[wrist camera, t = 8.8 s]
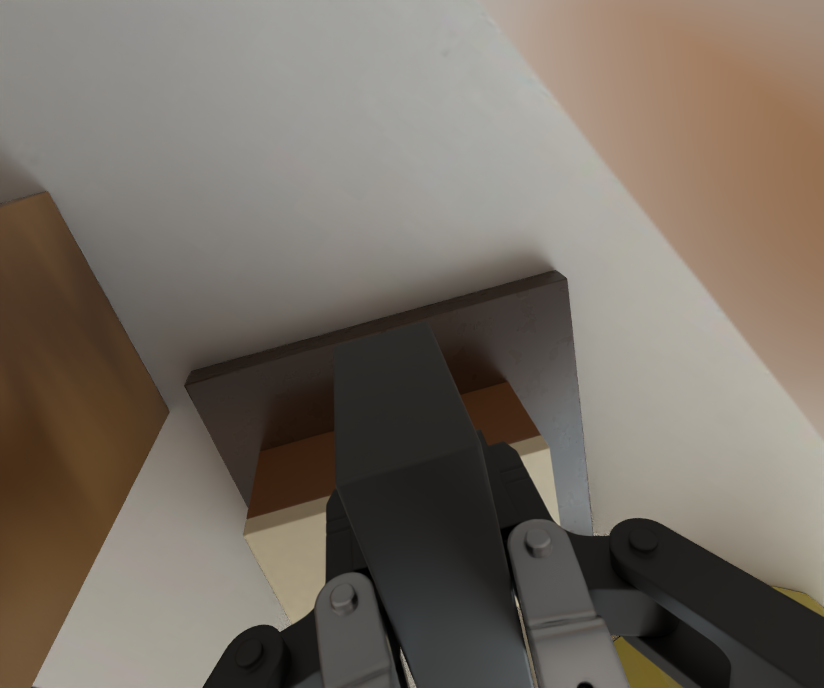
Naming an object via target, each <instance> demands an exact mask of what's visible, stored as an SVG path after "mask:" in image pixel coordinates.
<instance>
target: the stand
mask: <svg viewBox="0 0 824 688" xmlns="http://www.w3.org/2000/svg"><path fill="white" fill-rule="evenodd" d="M168 414H169V410H168V408H167V406H166V404H165V403H164V401H163V399H162V397H161V395H160V394H159V392H158V390H157V388H156V386H155V384H154V383H153V381H152V379H151V377H150V375H149V374H148V372H147V370H146V368H145V366H144V365H143V363H142V361H141V359H140V357H139V355H138V354H137V352H136V350H135V348H134V346H133V345H132V343H131V341H130V339H129V337H128V336H127V334H126V332H125V330H124V328H123V326H122V325H121V323H120V321H119V319H118V317H117V316H116V314H115V312H114V310H113V308H112V307H111V305H110V303H109V301H108V299H107V298H106V296H105V294H104V292H103V290H102V288H101V287H100V285H99V283H98V281H97V279H96V278H95V276H94V274H93V272H92V270H91V269H90V267H89V265H88V263H87V261H86V259H85V258H84V256H83V254H82V252H81V250H80V249H79V247H78V245H77V243H76V241H75V240H74V238H73V236H72V234H71V232H70V231H69V229H68V227H67V225H66V223H65V221H64V220H63V218H62V216H61V214H60V212H59V211H58V209H57V207H56V205H55V203H54V202H53V200H52V198H51V196H50V194H49V193H48V192H47V191H45V192H42V193H38V194H34V195H31V196H27V197H23V198H19V199H16V200H12V201H8V202H4V203H1V204H0V688H31V687H32V685H33V683H34V681H35V679H36V677H37V675H38V673H39V671H40V669H41V667H42V665H43V663H44V661H45V659H46V657H47V655H48V653H49V651H50V649H51V647H52V645H53V643H54V641H55V639H56V637H57V635H58V633H59V631H60V629H61V627H62V625H63V623H64V621H65V619H66V617H67V615H68V613H69V611H70V609H71V607H72V605H73V603H74V601H75V599H76V597H77V595H78V593H79V591H80V589H81V587H82V585H83V583H84V581H85V579H86V577H87V575H88V573H89V571H90V569H91V567H92V565H93V563H94V561H95V559H96V557H97V555H98V553H99V551H100V549H101V547H102V545H103V543H104V542H105V540H106V538H107V536H108V534H109V532H110V530H111V528H112V526H113V524H114V522H115V520H116V518H117V516H118V514H119V512H120V510H121V508H122V506H123V504H124V502H125V500H126V498H127V496H128V494H129V492H130V490H131V488H132V486H133V484H134V482H135V480H136V478H137V476H138V474H139V472H140V470H141V468H142V466H143V464H144V462H145V460H146V458H147V456H148V454H149V452H150V450H151V448H152V446H153V444H154V442H155V440H156V438H157V436H158V434H159V432H160V430H161V428H162V426H163V424H164V422H165V420H166V418H167V416H168Z"/></svg>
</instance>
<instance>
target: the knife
mask: <svg viewBox="0 0 824 688" xmlns="http://www.w3.org/2000/svg"><path fill="white" fill-rule="evenodd" d="M333 367H334V445H335V486H336V489H337V491H338V494H339V496H340V499H341V501H342V503H343V506H344V508H345V511H346V513H347V516H348V518H349V521H350V523H351V526H352V528H353V531H354V533H355V536H356V538H357V541H358V543H359V546H360V548H361V551H362V553H363V556H364V558H365V560H366V563H367V565H368V568H369V570H370V573H371V575H372V578H373V580H374V583H375V585H376V588H377V590H378V593H379V595H380V598H381V600H382V603H383V605H384V608H385V610H386V613H387V615H388V617H389V620H390V622H391V625H392V627H393V630H394V632H395V635H396V637H397V640H398V642H399V645H400V647H401V650H402V652H403V655H404V657H405V660H406V662H407V665H408V667H409V670H410V672H411V674H412V677H413V679H414V682H415V684H416V687H417V688H535V687H534V683H533V678H532V674H531V669H530V664H529V660H528V655H527V651H526V646H525V642H524V637H523V633H522V628H521V623H520V619H519V614H518V610H517V605H516V601H515V596H514V592H513V587H512V582H511V578H510V573H509V569H508V564H507V560H506V555H505V550H504V546H503V541H502V537H501V532H500V528H499V523H498V519H497V514H496V509H495V505H494V500H493V496H492V491H491V487H490V482H489V478H488V473H487V468H486V464H485V459H484V455H483V450H482V446H481V442H480V440H479V438H478V435H477V433H476V431H475V428H474V426H473V424H472V421H471V419H470V417H469V414H468V412H467V410H466V408H465V405H464V403H463V401H462V398H461V396H460V394H459V391H458V389H457V387H456V384H455V382H454V380H453V378H452V375H451V373H450V371H449V368H448V366H447V364H446V361H445V359H444V357H443V354H442V352H441V350H440V348H439V345H438V343H437V341H436V338H435V336H434V334H433V331H432V329H431V327H430V324H429V323H428V321H423V322H419V323H416V324H412V325H409V326H405V327H402V328H398V329H394V330H391V331H387V332H384V333H380V334H376V335H373V336H369V337H366V338H362V339H359V340H355V341H351V342H348V343H344V344H341V345H337V346H335V347H334V348H333Z"/></svg>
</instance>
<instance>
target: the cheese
mask: <svg viewBox="0 0 824 688" xmlns="http://www.w3.org/2000/svg"><path fill="white" fill-rule="evenodd" d="M771 587H772V588H774V589H776V590H778V591H779V592H781V593H783V594H785V595H786V596H788V597H790V598H792V599H793V600H795V601H797V602H799V603H800V604H802V605H804V606H806V607H808V608H809V609H811V610H813V611H815V612H816V613H818V614H820V615H822V616H823V617H824V608H823V607H822V606H821V605H820V604H818V603H817V602H816V601H814V600H813V599H812V598H811V597H809V596H808V595H807V594H805V593H800V592H796V591H791V590H787V589H783V588H778V587H774V586H771ZM613 643H614V645H615V648H616V651H617V653H618V656H619V659H620V661H621V664H622V667H623V669H624V672H625V674H626V677H627V680H628V682H629V685H630V688H683V687H682V686H681V685H680V684H678V683H677V682H676V681H675V680H673V679H672V678H671V677H670V676H668V675H667V674H666V673H665V672H663V671H662V670H661V669H660V668H658V667H657V666H656V665H655V664H654V663H652V662H651V661H650V660H649V659H647V658H646V657H645V656H644V655H642V654H641V653H640V652H639V651H637V650H636V649H635V648H634V647H632V646H631V645H630V644H629V643H628V642H627V641H625V640H624V639H623V637H622V636H621V637H619V638H618V639H617V640H615V641H614V642H613Z"/></svg>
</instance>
